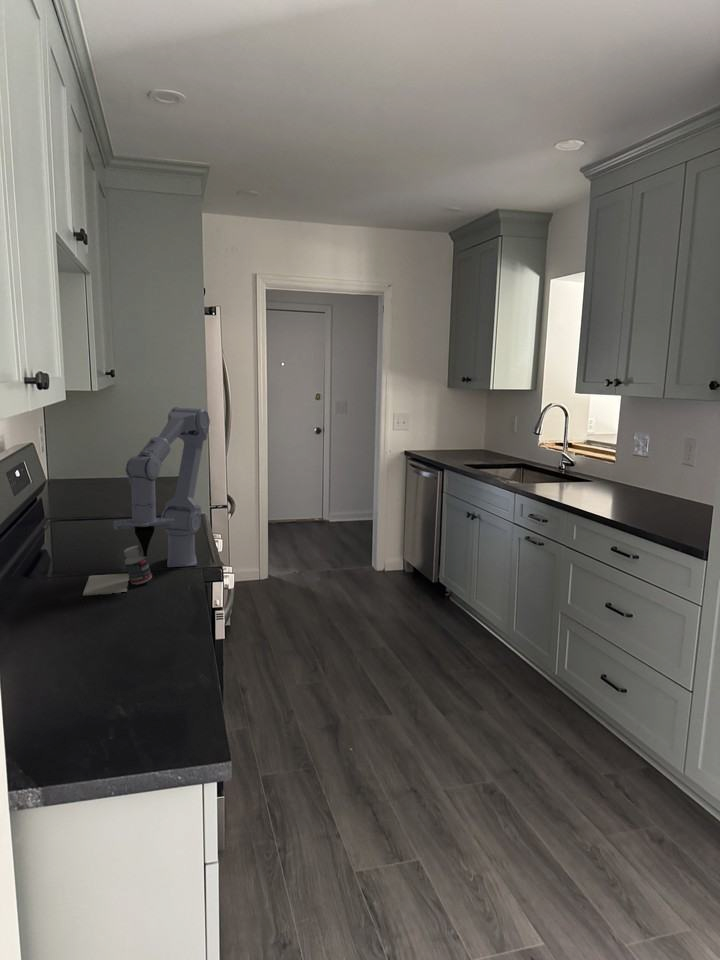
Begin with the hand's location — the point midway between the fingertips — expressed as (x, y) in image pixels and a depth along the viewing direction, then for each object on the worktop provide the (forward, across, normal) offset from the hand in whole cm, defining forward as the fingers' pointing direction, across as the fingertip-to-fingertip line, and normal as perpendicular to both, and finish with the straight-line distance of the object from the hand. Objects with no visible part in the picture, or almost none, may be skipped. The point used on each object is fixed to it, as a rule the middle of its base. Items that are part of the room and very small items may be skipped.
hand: (145, 555), depth 166 cm
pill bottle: (+7, -1, 0) cm, 7 cm away
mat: (+7, -9, 0) cm, 12 cm away
